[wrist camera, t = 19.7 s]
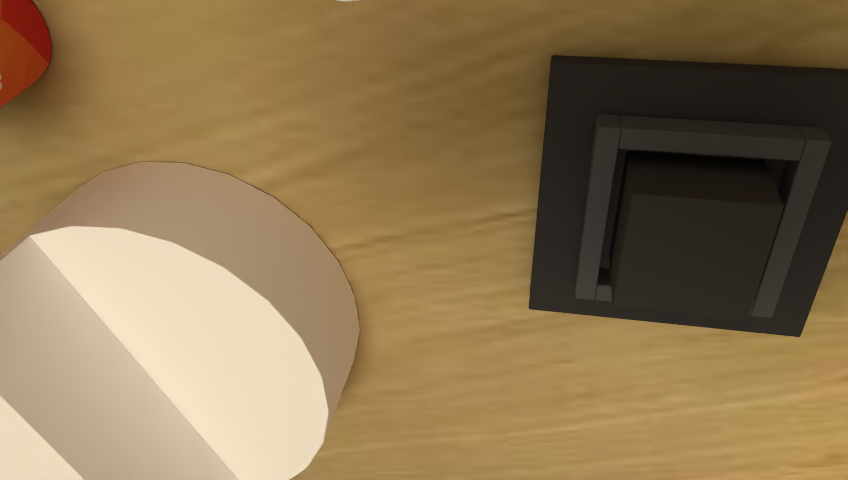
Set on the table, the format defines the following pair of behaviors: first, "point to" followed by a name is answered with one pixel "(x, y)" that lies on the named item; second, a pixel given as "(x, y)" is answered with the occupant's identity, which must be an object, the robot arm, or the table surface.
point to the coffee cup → (21, 47)
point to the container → (170, 333)
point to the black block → (692, 233)
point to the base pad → (691, 136)
